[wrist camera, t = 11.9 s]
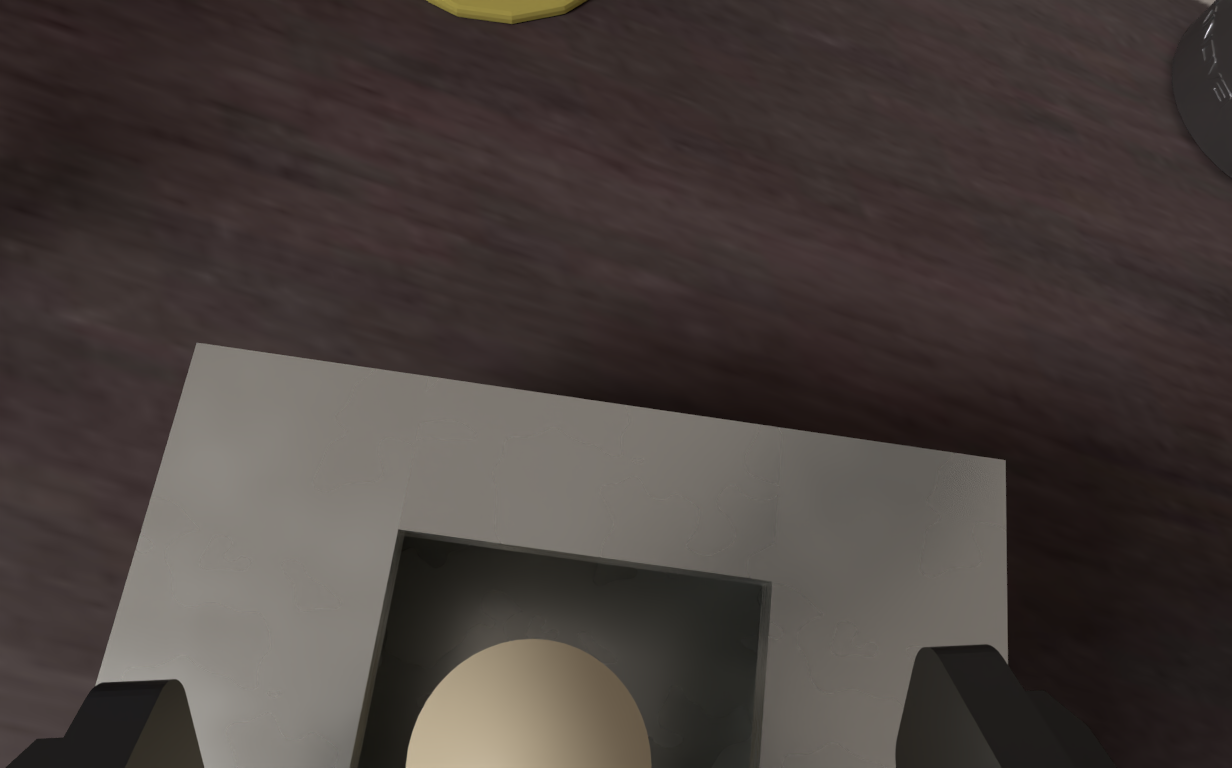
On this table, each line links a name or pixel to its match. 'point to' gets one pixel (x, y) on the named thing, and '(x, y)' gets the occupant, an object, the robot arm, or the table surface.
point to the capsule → (530, 713)
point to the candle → (507, 9)
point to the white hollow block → (541, 565)
